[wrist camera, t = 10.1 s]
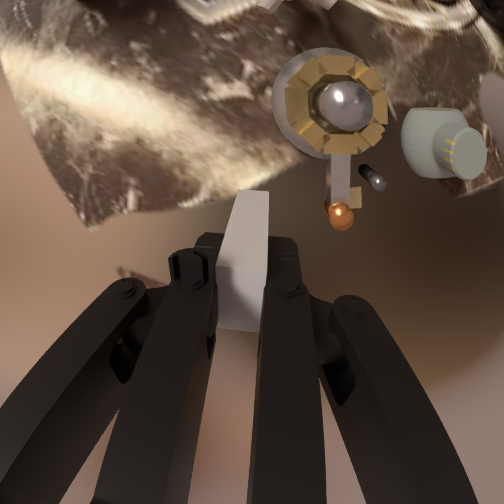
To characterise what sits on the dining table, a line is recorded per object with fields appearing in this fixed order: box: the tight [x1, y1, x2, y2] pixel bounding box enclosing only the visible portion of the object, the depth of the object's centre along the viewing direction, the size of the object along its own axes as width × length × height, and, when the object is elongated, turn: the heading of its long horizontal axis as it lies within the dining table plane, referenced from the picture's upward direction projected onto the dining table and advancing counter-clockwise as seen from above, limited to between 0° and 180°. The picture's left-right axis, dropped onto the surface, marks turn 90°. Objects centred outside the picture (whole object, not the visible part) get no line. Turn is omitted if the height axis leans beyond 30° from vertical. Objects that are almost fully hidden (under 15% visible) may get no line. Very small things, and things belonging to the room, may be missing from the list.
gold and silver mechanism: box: [272, 48, 388, 209], centre depth 26 cm, size 14×21×8 cm, turn 12°
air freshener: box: [401, 107, 487, 181], centre depth 24 cm, size 11×8×10 cm
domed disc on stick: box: [284, 55, 388, 231], centre depth 27 cm, size 20×11×4 cm, turn 6°
